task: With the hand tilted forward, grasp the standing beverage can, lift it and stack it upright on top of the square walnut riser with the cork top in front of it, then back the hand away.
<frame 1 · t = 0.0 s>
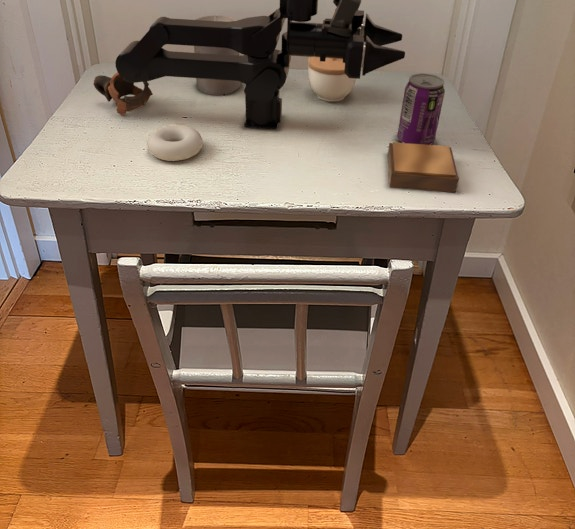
hand: (403, 45, 101), 17 cm above the table, tool horizontal, fingers open, 9 cm apart
beverage can: (415, 141, 109), on the table
riser: (419, 173, 99), on the table
donut: (175, 151, 103), on the table
pottery mug: (125, 106, 117), on the table
trinket box: (330, 96, 124), on the table
pillar candle: (219, 87, 126), on the table
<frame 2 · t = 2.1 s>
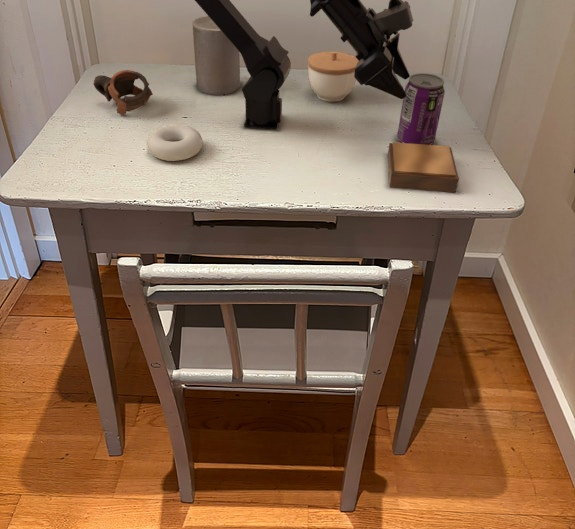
hand: (406, 87, 102), 10 cm above the table, tool tilted 45°, fingers open, 9 cm apart
nothing on the table moved.
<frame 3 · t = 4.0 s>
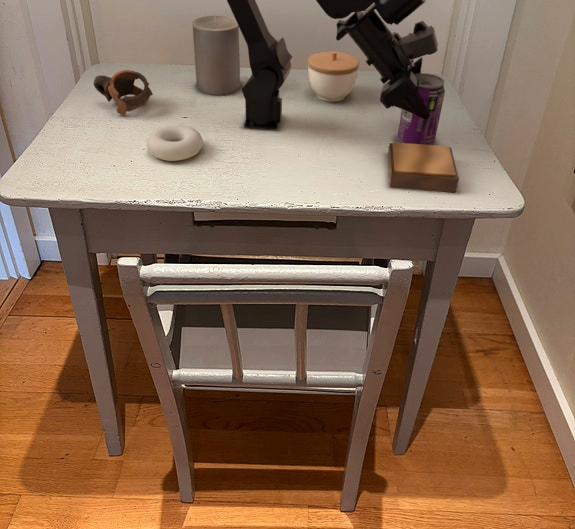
hand: (429, 109, 104), 7 cm above the table, tool tilted 45°, fingers closed on beverage can, 7 cm apart
beverage can: (415, 142, 109), on the table, touching gripper
everything else where it was.
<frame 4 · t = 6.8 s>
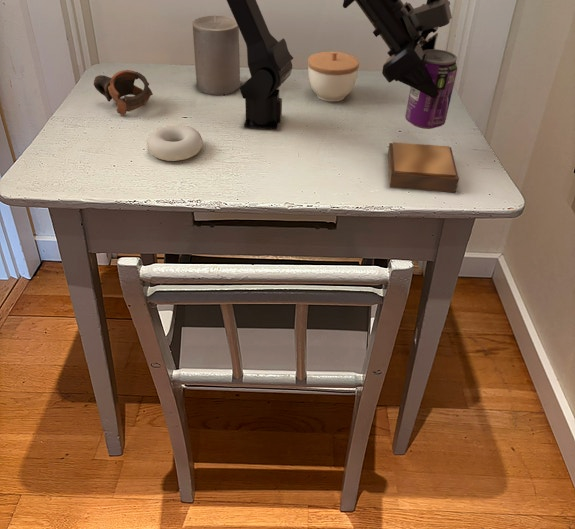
hand: (439, 88, 97), 12 cm above the table, tool tilted 45°, fingers closed on beverage can, 7 cm apart
beverage can: (424, 123, 102), point 6 cm above the table, touching gripper
everything else where it was.
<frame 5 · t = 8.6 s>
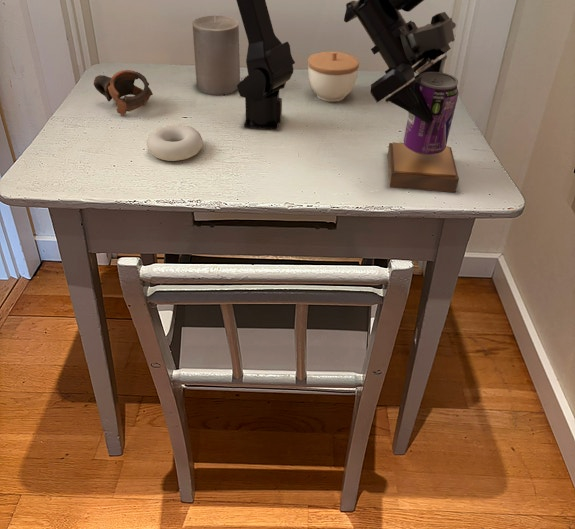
hand: (439, 114, 91), 11 cm above the table, tool tilted 45°, fingers closed on beverage can, 7 cm apart
beverage can: (423, 148, 96), point 5 cm above the table, touching gripper
everything else where it was.
when the fingers open (10 cm above the table, at t = 9.8 s): beverage can stays where it is, resting on riser.
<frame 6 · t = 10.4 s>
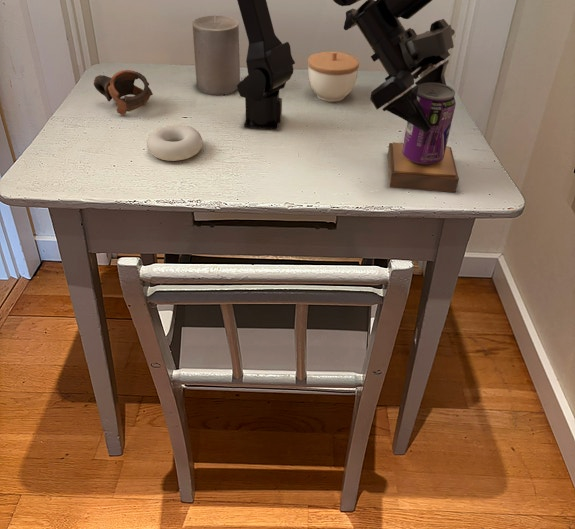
hand: (439, 120, 92), 10 cm above the table, tool tilted 45°, fingers open, 9 cm apart
beverage can: (421, 158, 98), point 3 cm above the table, touching riser
everything else where it was.
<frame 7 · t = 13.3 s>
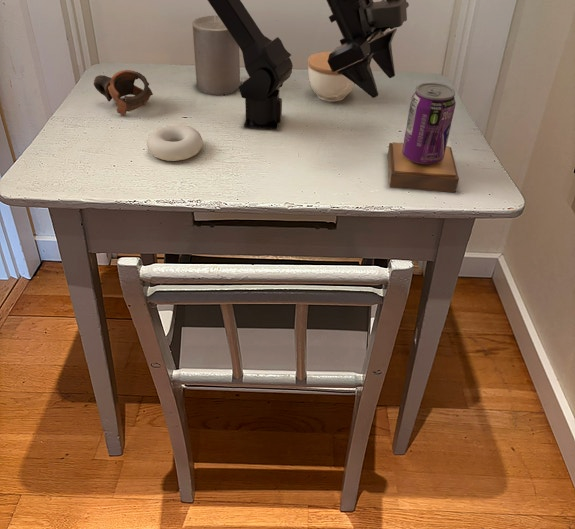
hand: (384, 86, 99), 12 cm above the table, tool tilted 30°, fingers open, 9 cm apart
nothing on the table moved.
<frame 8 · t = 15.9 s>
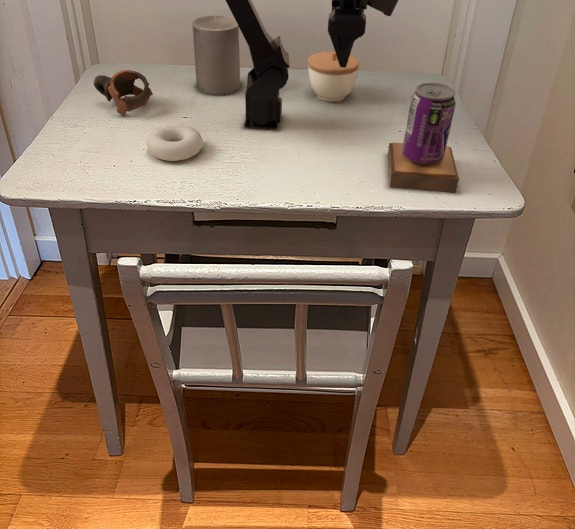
hand: (343, 58, 105), 13 cm above the table, tool pointing down, fingers open, 9 cm apart
nothing on the table moved.
at the end: beverage can 0.2 cm off-centre on the riser, point 2.8 cm above the riser's base; beverage can tilted 0°; the gripper is holding nothing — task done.
